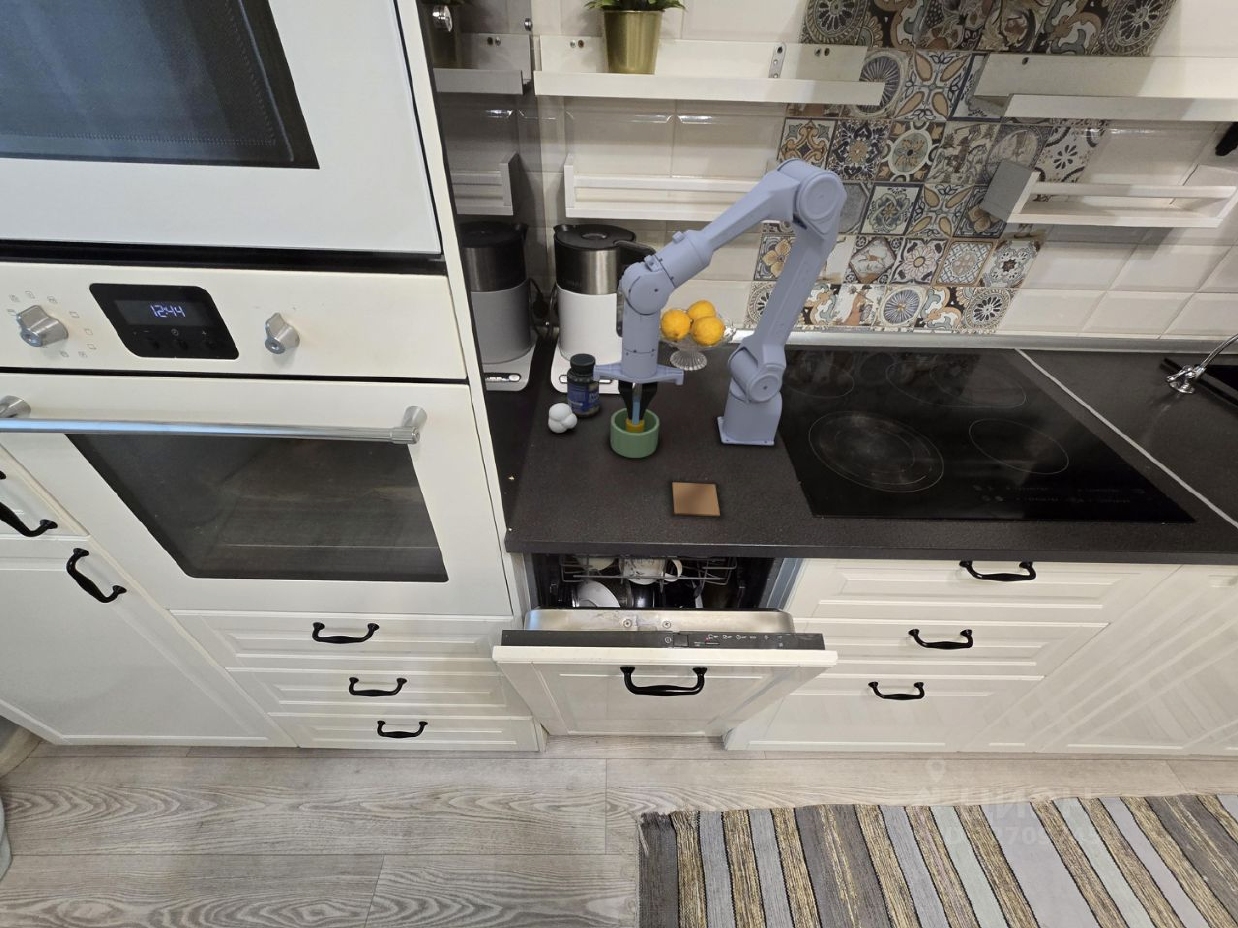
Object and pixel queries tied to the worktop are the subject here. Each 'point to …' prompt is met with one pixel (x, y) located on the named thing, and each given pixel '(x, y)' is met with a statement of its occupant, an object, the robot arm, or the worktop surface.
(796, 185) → the robot arm
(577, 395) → the pill bottle
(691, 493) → the mat
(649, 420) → the green round open container
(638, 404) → the brush
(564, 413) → the microfossil shell
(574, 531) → the worktop surface
